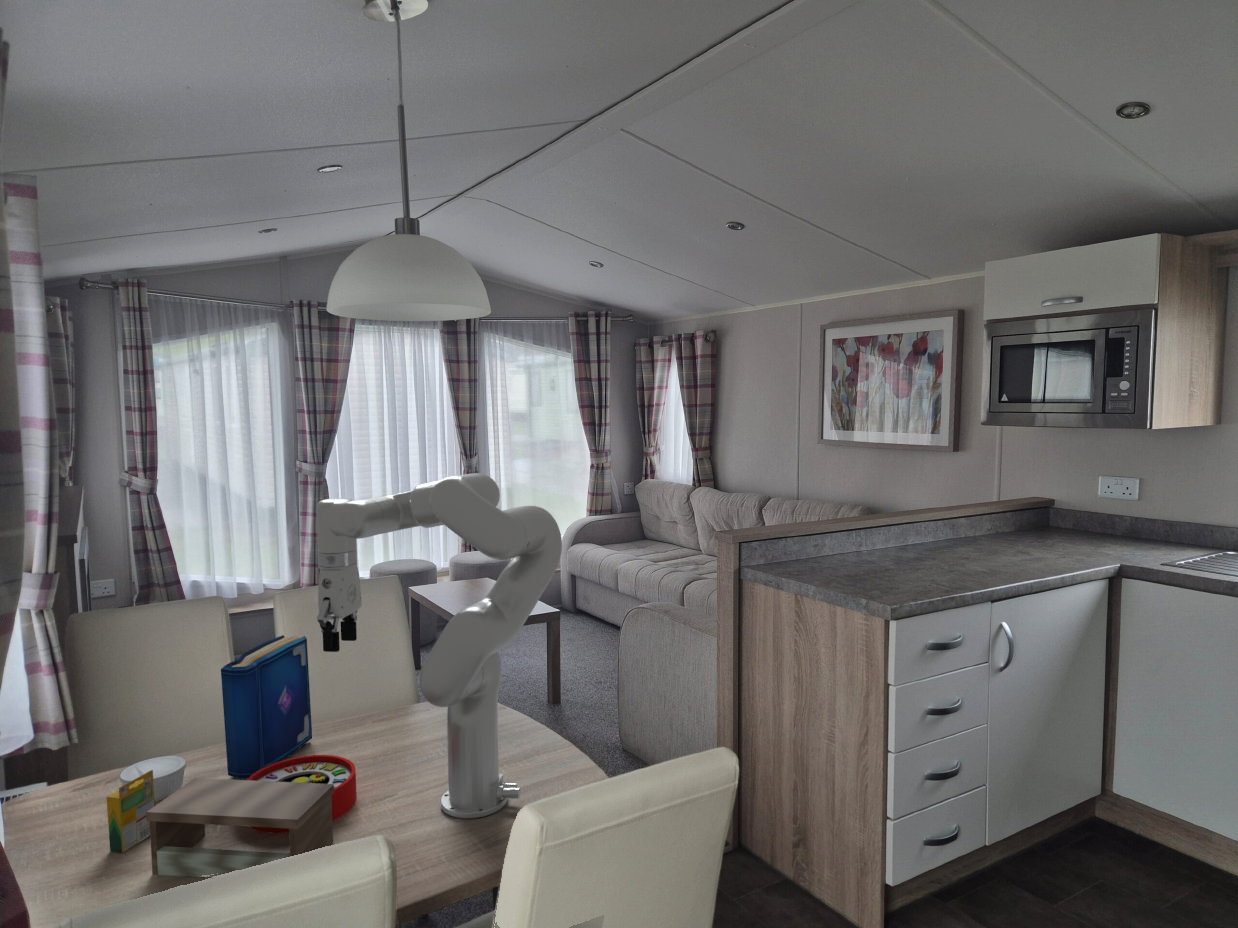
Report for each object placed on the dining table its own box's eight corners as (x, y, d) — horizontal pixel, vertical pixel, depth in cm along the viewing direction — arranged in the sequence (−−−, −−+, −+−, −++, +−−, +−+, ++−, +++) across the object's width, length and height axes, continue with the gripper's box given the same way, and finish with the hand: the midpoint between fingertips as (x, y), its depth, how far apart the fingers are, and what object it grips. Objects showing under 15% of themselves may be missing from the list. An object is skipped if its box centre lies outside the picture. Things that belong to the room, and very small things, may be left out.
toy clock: (337, 746, 163) (370, 781, 147) (338, 773, 163) (371, 811, 147) (232, 772, 151) (255, 814, 135) (234, 802, 152) (257, 847, 136)
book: (251, 784, 158) (246, 664, 157) (221, 782, 160) (215, 662, 158) (313, 741, 179) (309, 634, 178) (286, 739, 181) (282, 633, 179)
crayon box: (143, 829, 141) (140, 767, 141) (157, 831, 141) (154, 768, 140) (108, 851, 134) (105, 786, 133) (122, 853, 133) (119, 787, 133)
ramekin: (107, 804, 151) (105, 777, 151) (153, 778, 162) (152, 753, 162) (155, 809, 149) (154, 783, 148) (199, 783, 159) (198, 757, 159)
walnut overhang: (335, 842, 136) (333, 783, 136) (300, 883, 124) (297, 819, 124) (197, 834, 139) (194, 777, 139) (149, 874, 127) (146, 811, 127)
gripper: (334, 568, 149) (337, 659, 150) (373, 552, 166) (375, 634, 168) (297, 567, 150) (301, 658, 151) (340, 551, 167) (342, 633, 168)
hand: (340, 644), depth 159 cm, fingers open, 6 cm apart
